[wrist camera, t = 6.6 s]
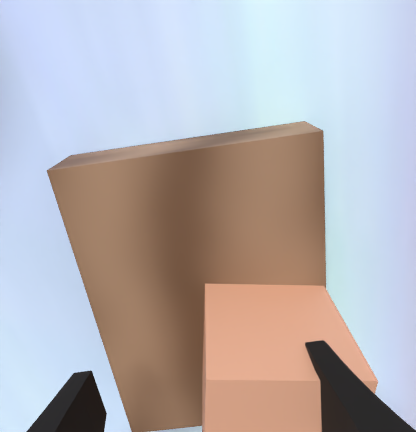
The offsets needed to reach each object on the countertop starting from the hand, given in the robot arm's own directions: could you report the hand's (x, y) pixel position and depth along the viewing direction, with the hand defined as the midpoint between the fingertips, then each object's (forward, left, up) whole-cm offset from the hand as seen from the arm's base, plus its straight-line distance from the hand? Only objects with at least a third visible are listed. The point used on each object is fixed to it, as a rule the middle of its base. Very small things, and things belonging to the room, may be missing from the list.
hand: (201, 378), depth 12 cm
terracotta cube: (-2, +1, -4) cm, 5 cm away
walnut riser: (0, 0, -6) cm, 6 cm away
